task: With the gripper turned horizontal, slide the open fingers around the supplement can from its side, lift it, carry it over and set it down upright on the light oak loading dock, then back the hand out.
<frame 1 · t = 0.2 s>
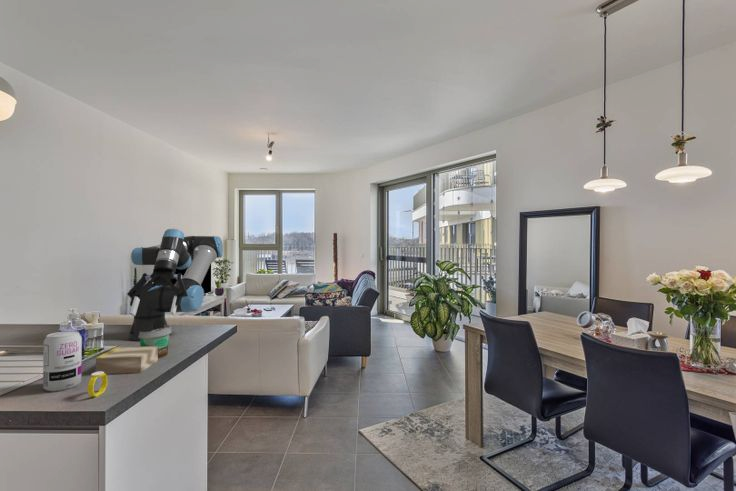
hand: (152, 314, 129), 15 cm above the countertop, tool tilted 35°, fingers open, 13 cm apart
loading dock: (128, 366, 117), on the countertop
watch: (97, 395, 96), on the countertop
food container: (159, 356, 129), on the countertop
supplement can: (62, 387, 101), on the countertop
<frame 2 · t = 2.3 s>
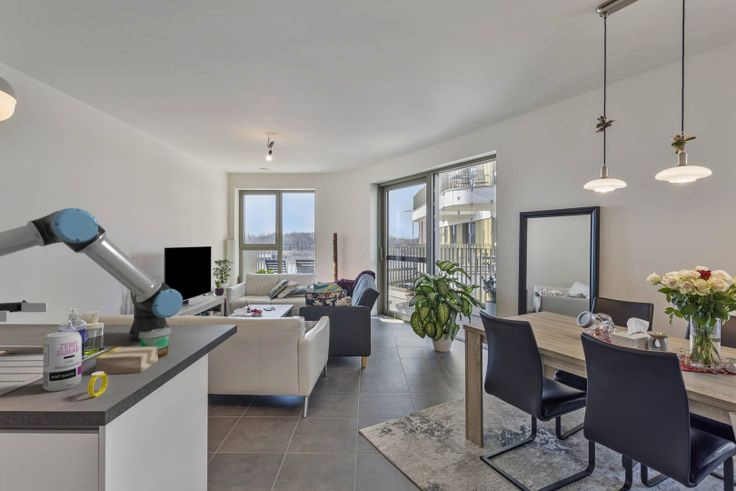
hand: (28, 311, 100), 22 cm above the countertop, tool horizontal, fingers open, 13 cm apart
nothing on the countertop moved.
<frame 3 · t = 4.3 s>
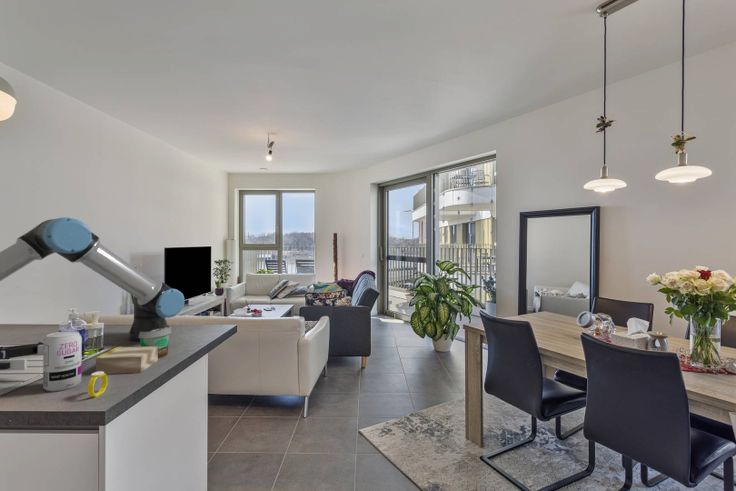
hand: (45, 356, 100), 9 cm above the countertop, tool horizontal, fingers open, 13 cm apart
nothing on the countertop moved.
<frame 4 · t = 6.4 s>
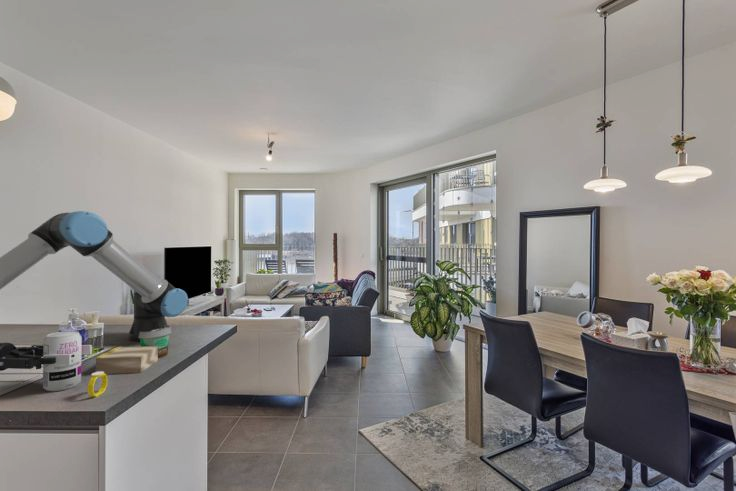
hand: (81, 354, 102), 9 cm above the countertop, tool horizontal, fingers closed on supplement can, 8 cm apart
supplement can: (62, 387, 101), on the countertop, touching gripper
everything else where it was.
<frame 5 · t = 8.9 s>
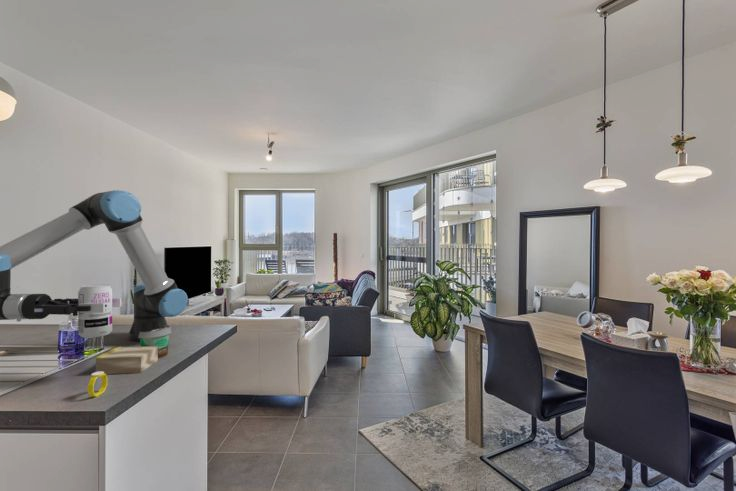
hand: (112, 305, 109), 22 cm above the countertop, tool horizontal, fingers closed on supplement can, 8 cm apart
supplement can: (95, 335, 109), point 13 cm above the countertop, touching gripper
everything else where it was.
when the fingers open (14 cm above the countertop, at t = 11.4 s): supplement can stays where it is, resting on loading dock.
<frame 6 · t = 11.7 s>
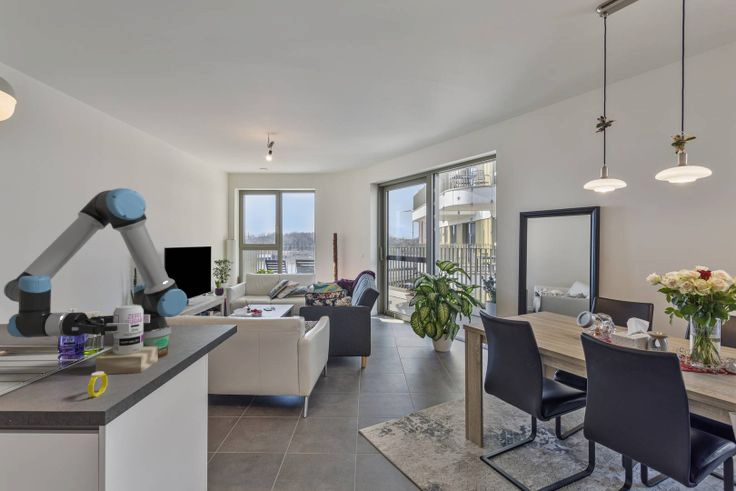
hand: (140, 322, 118), 14 cm above the countertop, tool horizontal, fingers open, 12 cm apart
supplement can: (128, 352, 117), point 5 cm above the countertop, touching loading dock
everything else where it was.
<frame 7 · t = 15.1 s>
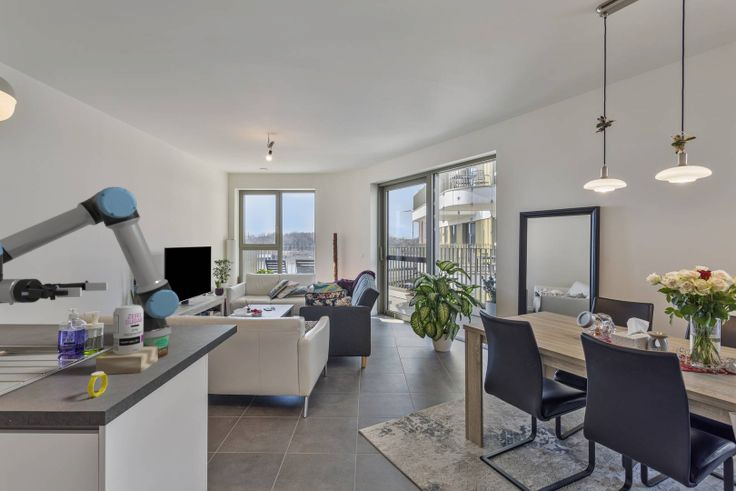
hand: (94, 289, 116), 26 cm above the countertop, tool horizontal, fingers open, 13 cm apart
nothing on the countertop moved.
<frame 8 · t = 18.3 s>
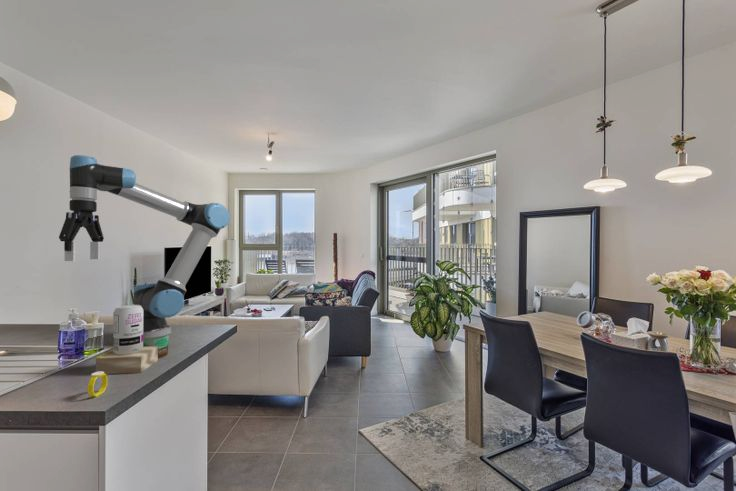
hand: (82, 260, 126), 35 cm above the countertop, tool pointing down, fingers open, 13 cm apart
nothing on the countertop moved.
at the end: supplement can inside the target area on the loading dock (0.1 cm from its centre), point 4.8 cm above the loading dock's base; supplement can tilted 0°; the gripper is holding nothing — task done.
